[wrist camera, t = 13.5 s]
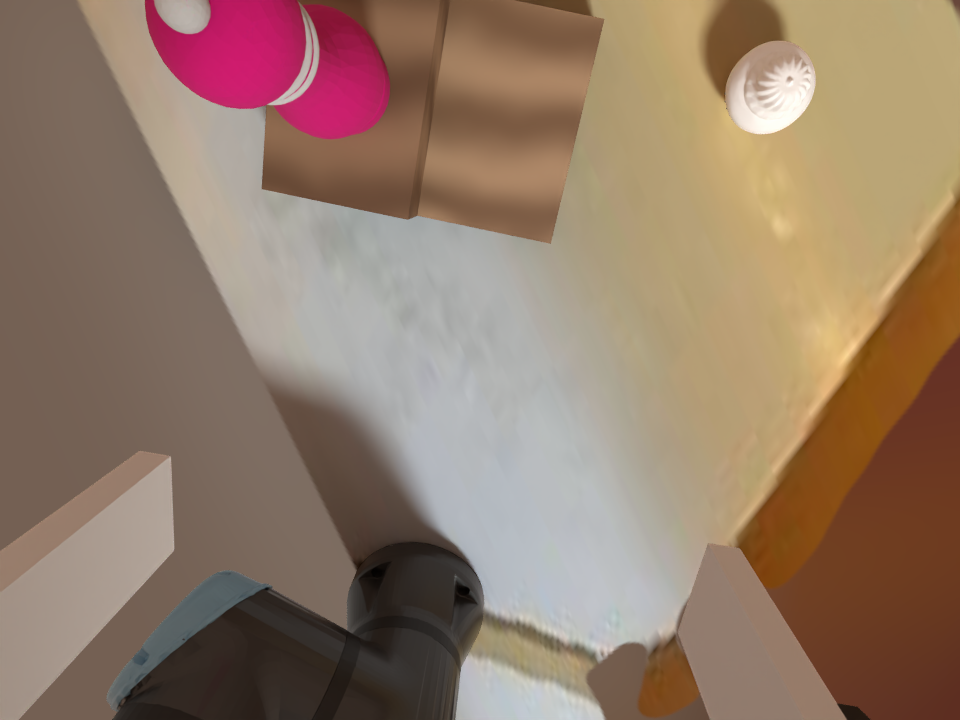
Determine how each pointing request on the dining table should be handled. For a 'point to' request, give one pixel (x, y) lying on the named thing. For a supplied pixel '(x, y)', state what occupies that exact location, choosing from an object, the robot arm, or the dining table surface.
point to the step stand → (454, 116)
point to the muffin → (770, 87)
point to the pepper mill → (275, 60)
